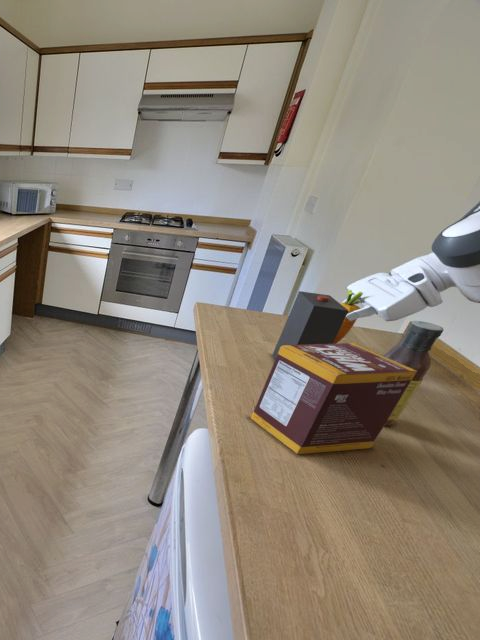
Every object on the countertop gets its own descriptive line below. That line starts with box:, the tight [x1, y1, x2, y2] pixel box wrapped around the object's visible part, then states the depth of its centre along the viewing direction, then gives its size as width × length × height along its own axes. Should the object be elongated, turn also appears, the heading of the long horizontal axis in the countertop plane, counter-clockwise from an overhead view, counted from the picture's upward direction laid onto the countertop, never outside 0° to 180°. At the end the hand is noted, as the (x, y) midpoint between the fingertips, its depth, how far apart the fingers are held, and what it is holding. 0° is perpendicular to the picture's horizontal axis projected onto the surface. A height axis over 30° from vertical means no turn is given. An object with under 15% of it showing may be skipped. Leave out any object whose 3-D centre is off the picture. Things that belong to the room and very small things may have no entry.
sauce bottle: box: [383, 320, 444, 426], centre depth 75 cm, size 7×6×20 cm
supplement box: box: [250, 342, 417, 455], centre depth 71 cm, size 10×15×16 cm
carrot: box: [333, 289, 363, 344], centre depth 101 cm, size 5×5×15 cm
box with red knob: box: [271, 290, 349, 360], centre depth 92 cm, size 18×11×18 cm, turn 67°
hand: (342, 313), depth 101 cm, fingers closed on carrot, 5 cm apart
